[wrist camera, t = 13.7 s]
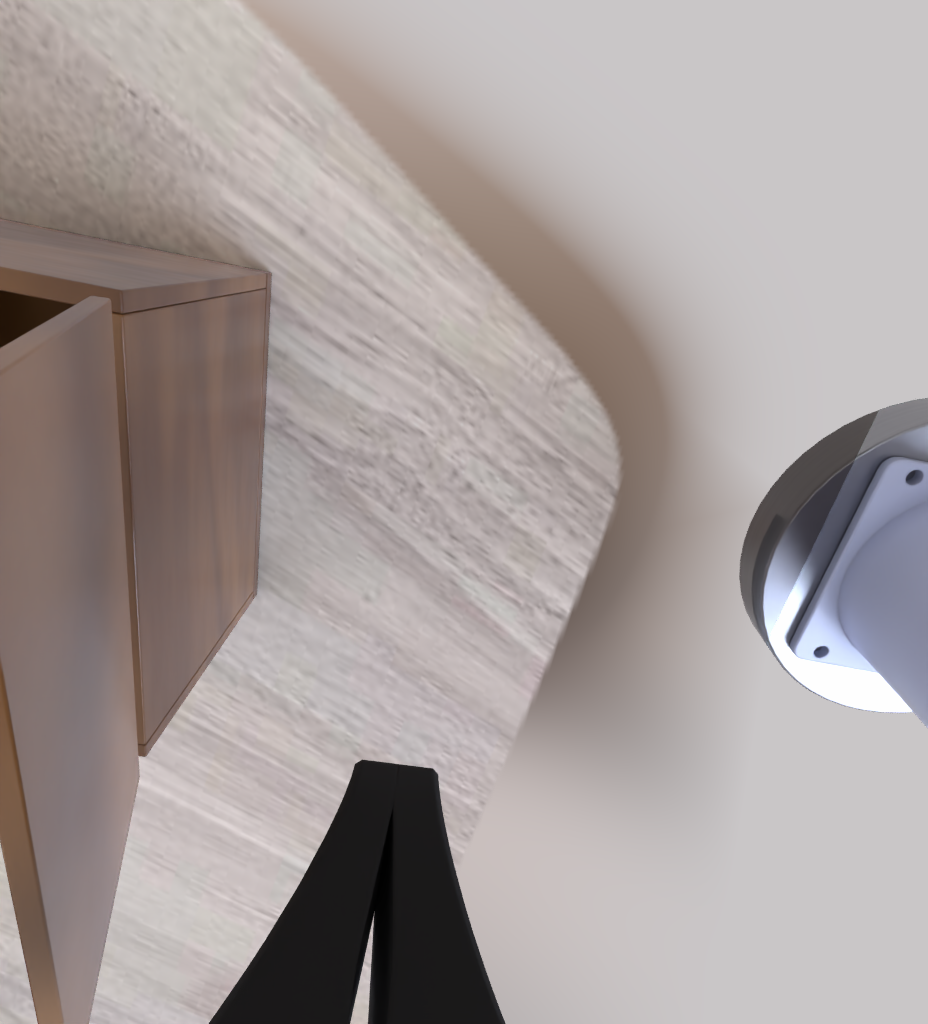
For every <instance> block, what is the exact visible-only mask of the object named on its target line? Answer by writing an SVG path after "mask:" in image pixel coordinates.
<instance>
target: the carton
mask: <svg viewBox="0 0 928 1024" xmlns="http://www.w3.org/2000/svg"><path fill="white" fill-rule="evenodd" d="M90 296H97V297H104V298H109V299H110V300H111V307H112V323H113V340H114V357H115V374H116V390H117V407H118V424H119V441H120V457H121V474H122V491H123V508H124V524H125V541H126V558H127V575H128V591H129V608H130V625H131V642H132V658H133V675H134V692H135V709H136V725H137V742H138V756H143V757H145V756H147V754H148V753H149V751H150V750H151V748H152V747H153V745H154V744H155V743H156V741H157V740H158V738H159V737H160V735H161V734H162V732H163V731H164V729H165V728H166V726H167V725H168V723H169V722H170V721H171V719H172V718H173V716H174V715H175V713H176V712H177V710H178V709H179V707H180V706H181V704H182V703H183V702H184V700H185V699H186V697H187V696H188V694H189V693H190V691H191V690H192V688H193V687H194V685H195V684H196V682H197V681H198V680H199V678H200V677H201V675H202V674H203V672H204V671H205V669H206V668H207V666H208V665H209V663H210V662H211V661H212V659H213V658H214V656H215V655H216V653H217V652H218V650H219V649H220V647H221V646H222V644H223V643H224V642H225V640H226V639H227V637H228V636H229V634H230V633H231V631H232V630H233V628H234V627H235V625H236V624H237V622H238V621H239V620H240V618H241V617H242V615H243V614H244V612H245V611H246V609H247V608H248V606H249V605H250V603H251V602H252V600H253V599H254V598H255V596H256V595H257V581H258V559H259V537H260V515H261V493H262V471H263V450H264V428H265V406H266V384H267V362H268V340H269V318H270V297H271V273H270V272H266V271H261V270H256V269H251V268H246V267H241V266H235V265H230V264H225V263H220V262H215V261H210V260H205V259H200V258H195V257H190V256H185V255H180V254H175V253H170V252H165V251H160V250H155V249H150V248H145V247H140V246H135V245H130V244H125V243H120V242H115V241H110V240H105V239H100V238H95V237H90V236H84V235H79V234H74V233H69V232H64V231H59V230H54V229H49V228H44V227H39V226H34V225H29V224H24V223H19V222H14V221H9V220H4V219H0V348H1V347H3V346H5V345H6V344H8V343H10V342H11V341H13V340H15V339H17V338H18V337H20V336H22V335H24V334H25V333H27V332H29V331H31V330H32V329H34V328H36V327H38V326H39V325H41V324H43V323H44V322H46V321H48V320H50V319H51V318H53V317H55V316H57V315H58V314H60V313H62V312H64V311H65V310H67V309H69V308H70V307H72V306H74V305H76V304H77V303H79V302H81V301H83V300H84V299H86V298H88V297H90Z"/></svg>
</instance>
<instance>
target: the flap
mask: <svg viewBox="0 0 928 1024" xmlns="http://www.w3.org/2000/svg"><path fill="white" fill-rule="evenodd" d="M139 777H140V776H139V759H138V742H137V725H136V709H135V692H134V675H133V658H132V642H131V625H130V608H129V591H128V575H127V558H126V541H125V524H124V508H123V491H122V474H121V457H120V441H119V424H118V407H117V390H116V374H115V357H114V340H113V323H112V307H111V300H110V299H109V298H104V297H97V296H90V297H88V298H86V299H84V300H83V301H81V302H79V303H77V304H76V305H74V306H72V307H70V308H69V309H67V310H65V311H64V312H62V313H60V314H58V315H57V316H55V317H53V318H51V319H50V320H48V321H46V322H44V323H43V324H41V325H39V326H38V327H36V328H34V329H32V330H31V331H29V332H27V333H25V334H24V335H22V336H20V337H18V338H17V339H15V340H13V341H11V342H10V343H8V344H6V345H5V346H3V347H1V348H0V843H1V848H2V852H3V857H4V862H5V867H6V872H7V877H8V881H9V886H10V891H11V896H12V901H13V905H14V910H15V915H16V920H17V925H18V930H19V934H20V939H21V944H22V949H23V954H24V958H25V963H26V968H27V973H28V978H29V982H30V987H31V992H32V997H33V1002H34V1007H35V1011H36V1016H37V1021H38V1024H89V1020H90V1015H91V1010H92V1005H93V1000H94V995H95V991H96V986H97V981H98V976H99V971H100V966H101V962H102V957H103V952H104V947H105V942H106V937H107V932H108V928H109V923H110V918H111V913H112V908H113V903H114V899H115V894H116V889H117V884H118V879H119V874H120V870H121V865H122V860H123V855H124V850H125V845H126V840H127V836H128V831H129V826H130V821H131V816H132V811H133V807H134V802H135V797H136V792H137V787H138V782H139Z"/></svg>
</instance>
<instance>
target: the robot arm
mask: <svg viewBox="0 0 928 1024" xmlns="http://www.w3.org/2000/svg"><path fill="white" fill-rule="evenodd" d="M913 470H915V475H914V476H913V477H912V478H911V479H909V480H907V481H906V476H907V475H908V474H909V473H910V472H911V471H913ZM820 646H823V647H822V648H821V649H820V650H817V651H814V650H815V649H816V648H817V647H820ZM790 649H791V651H792V652H793V653H794V655H795V656H796V657H797V658H800V659H803V660H808V661H814V662H819V663H825V664H830V665H836V666H841V667H847V668H852V669H858V670H863V671H869V672H874V673H879V675H880V676H881V677H882V678H883V679H884V680H885V681H886V682H887V683H888V685H889V686H890V687H891V688H892V689H893V690H894V691H895V692H896V693H897V695H898V696H899V697H900V698H901V699H902V700H903V701H904V702H905V703H906V705H907V706H908V707H909V708H910V709H911V710H912V711H913V712H914V713H915V715H917V717H918V718H919V719H920V720H921V721H922V722H923V723H924V724H925V726H926V727H927V728H928V462H925V461H920V460H915V459H910V458H905V457H892V458H889V459H887V460H885V461H884V462H883V463H882V464H881V465H880V466H879V468H878V469H877V471H876V473H875V475H874V477H873V479H872V481H871V483H870V485H869V487H868V489H867V491H866V493H865V495H864V497H863V499H862V501H861V503H860V505H859V507H858V509H857V511H856V513H855V515H854V517H853V519H852V521H851V523H850V525H849V527H848V529H847V531H846V533H845V535H844V537H843V539H842V541H841V543H840V545H839V547H838V549H837V551H836V553H835V555H834V557H833V559H832V561H831V563H830V565H829V567H828V569H827V571H826V572H825V574H824V576H823V578H822V580H821V582H820V584H819V586H818V588H817V590H816V592H815V594H814V596H813V598H812V600H811V602H810V604H809V606H808V608H807V610H806V612H805V614H804V616H803V618H802V620H801V622H800V624H799V626H798V628H797V630H796V632H795V634H794V636H793V638H792V640H791V642H790ZM374 911H375V912H374ZM373 916H374V928H373V946H372V963H371V981H370V998H369V1016H368V1024H505V1021H504V1019H503V1016H502V1014H501V1011H500V1009H499V1006H498V1003H497V1000H496V998H495V995H494V992H493V990H492V987H491V984H490V981H489V978H488V976H487V973H486V970H485V967H484V964H483V961H482V958H481V955H480V952H479V949H478V946H477V943H476V940H475V937H474V934H473V931H472V928H471V924H470V921H469V918H468V914H467V911H466V908H465V904H464V901H463V897H462V893H461V889H460V886H459V882H458V878H457V875H456V871H455V867H454V863H453V859H452V855H451V851H450V847H449V842H448V837H447V832H446V828H445V823H444V817H443V812H442V806H441V799H440V791H439V781H438V774H437V773H436V772H435V770H434V769H432V768H424V767H416V766H408V765H400V764H392V763H384V762H376V761H368V760H361V761H360V762H358V763H356V764H355V766H354V770H353V773H352V777H351V780H350V782H349V785H348V787H347V790H346V793H345V795H344V798H343V800H342V802H341V804H340V807H339V809H338V811H337V813H336V815H335V817H334V820H333V822H332V824H331V826H330V828H329V830H328V832H327V834H326V836H325V838H324V840H323V842H322V844H321V845H320V847H319V849H318V851H317V853H316V855H315V857H314V858H313V860H312V862H311V864H310V866H309V868H308V870H307V871H306V873H305V875H304V877H303V879H302V881H301V882H300V884H299V886H298V887H297V889H296V891H295V893H294V894H293V896H292V897H291V899H290V901H289V902H288V904H287V906H286V907H285V909H284V911H283V912H282V914H281V915H280V917H279V919H278V920H277V922H276V924H275V925H274V927H273V929H272V930H271V932H270V934H269V935H268V937H267V938H266V940H265V942H264V943H263V945H262V946H261V948H260V949H259V951H258V952H257V954H256V955H255V957H254V958H253V960H252V961H251V963H250V965H249V966H248V968H247V969H246V971H245V972H244V973H243V975H242V976H241V978H240V979H239V981H238V982H237V984H236V985H235V987H234V988H233V990H232V991H231V992H230V994H229V995H228V997H227V998H226V1000H225V1001H224V1003H223V1004H222V1005H221V1007H220V1008H219V1010H218V1011H217V1013H216V1014H215V1015H214V1017H213V1018H212V1020H211V1021H210V1022H209V1024H350V1021H351V1017H352V1012H353V1007H354V1003H355V998H356V994H357V989H358V985H359V980H360V975H361V971H362V966H363V962H364V957H365V952H366V948H367V943H368V939H369V934H370V929H371V925H372V920H373Z"/></svg>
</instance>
